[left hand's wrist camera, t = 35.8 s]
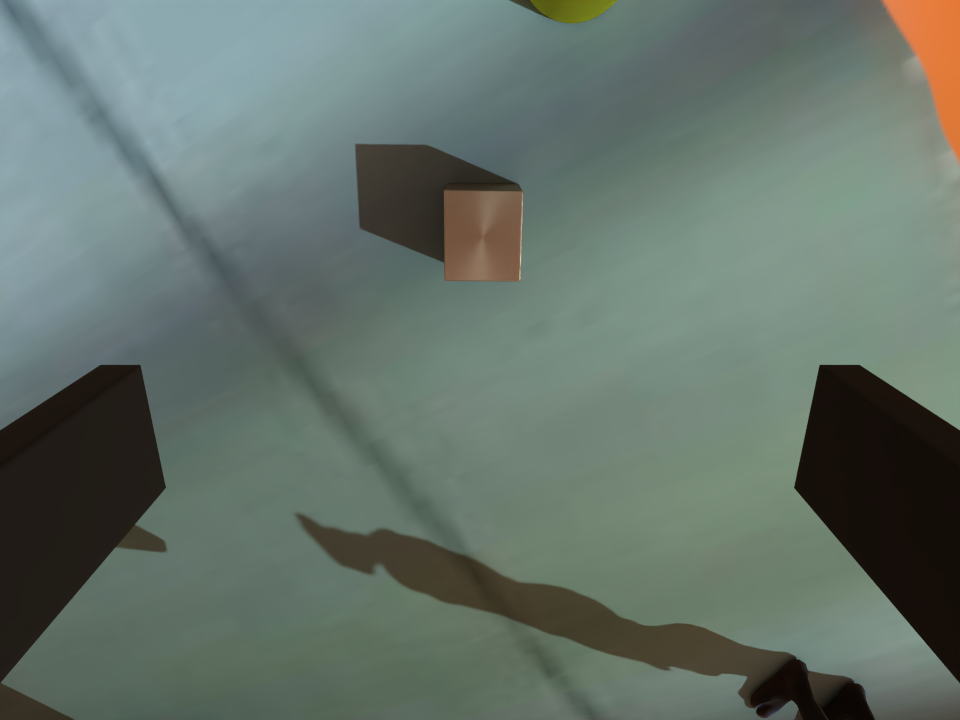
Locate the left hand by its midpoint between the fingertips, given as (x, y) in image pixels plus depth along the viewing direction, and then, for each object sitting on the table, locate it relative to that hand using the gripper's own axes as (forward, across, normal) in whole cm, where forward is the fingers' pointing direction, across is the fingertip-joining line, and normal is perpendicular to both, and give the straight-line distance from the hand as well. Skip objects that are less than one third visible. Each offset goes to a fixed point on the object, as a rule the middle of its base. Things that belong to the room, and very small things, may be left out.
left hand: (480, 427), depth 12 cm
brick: (+27, 0, 0) cm, 27 cm away
